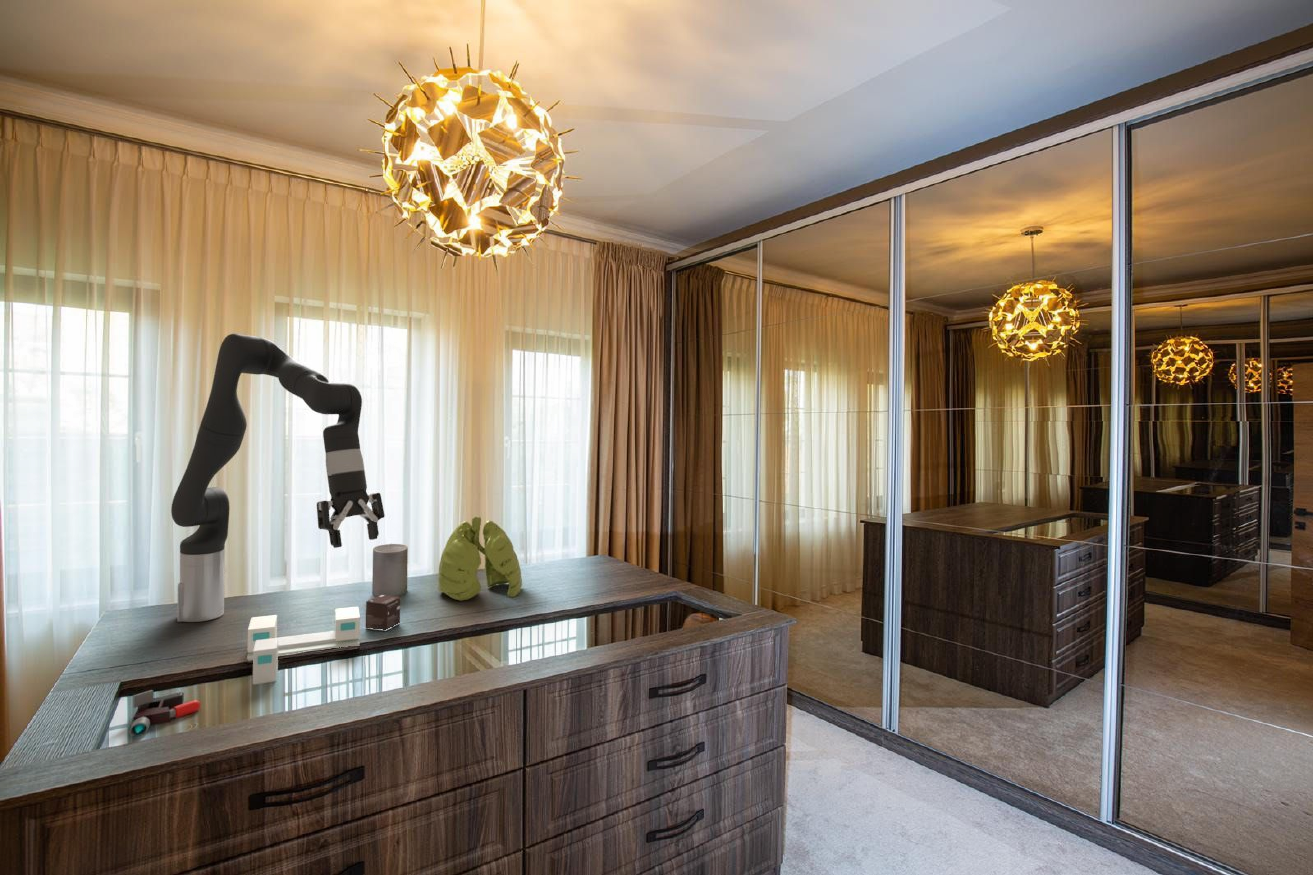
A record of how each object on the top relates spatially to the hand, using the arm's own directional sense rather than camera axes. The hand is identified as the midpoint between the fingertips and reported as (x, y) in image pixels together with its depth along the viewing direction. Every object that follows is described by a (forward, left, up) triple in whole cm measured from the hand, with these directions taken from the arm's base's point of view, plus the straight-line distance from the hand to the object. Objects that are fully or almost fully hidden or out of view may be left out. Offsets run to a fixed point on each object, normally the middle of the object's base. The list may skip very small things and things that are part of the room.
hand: (355, 543), depth 137 cm
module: (-16, -3, -27) cm, 31 cm away
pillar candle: (+12, +46, -27) cm, 55 cm away
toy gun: (-31, -15, -27) cm, 44 cm away
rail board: (-9, +10, -26) cm, 30 cm away
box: (+8, +18, -27) cm, 33 cm away
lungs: (+37, +37, -27) cm, 59 cm away
